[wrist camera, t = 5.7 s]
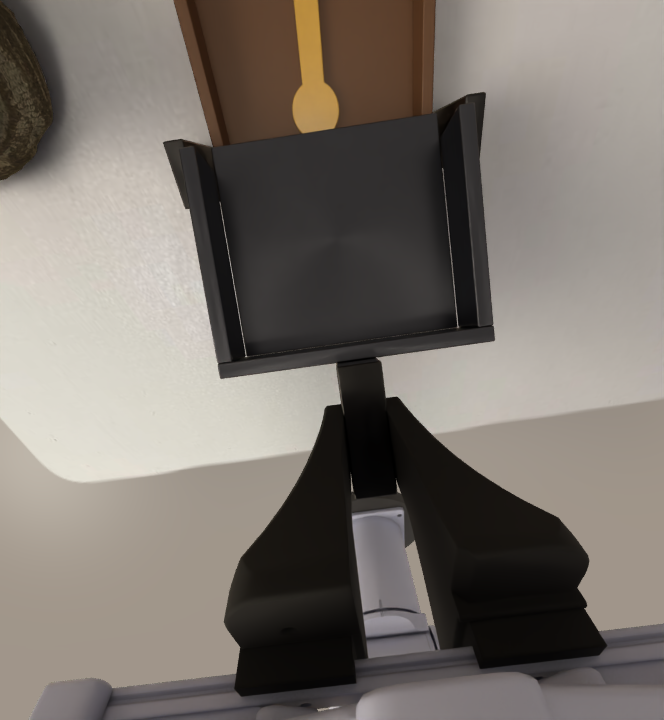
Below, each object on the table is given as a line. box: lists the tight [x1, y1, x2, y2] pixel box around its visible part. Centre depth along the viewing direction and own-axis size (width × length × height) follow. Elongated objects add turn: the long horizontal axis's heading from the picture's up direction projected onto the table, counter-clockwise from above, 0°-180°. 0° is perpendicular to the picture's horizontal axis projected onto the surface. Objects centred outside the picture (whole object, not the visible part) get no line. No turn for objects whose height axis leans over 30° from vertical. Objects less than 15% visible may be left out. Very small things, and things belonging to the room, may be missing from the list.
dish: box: [179, 103, 495, 500], centre depth 13 cm, size 15×11×4 cm
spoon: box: [292, 0, 339, 133], centre depth 14 cm, size 6×2×1 cm, turn 5°
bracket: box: [163, 92, 486, 209], centre depth 14 cm, size 2×13×4 cm, turn 98°
